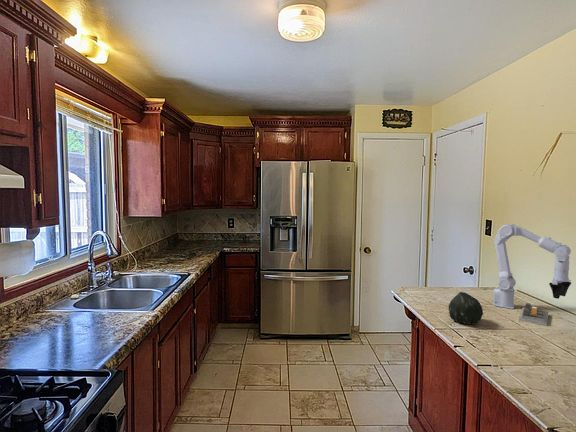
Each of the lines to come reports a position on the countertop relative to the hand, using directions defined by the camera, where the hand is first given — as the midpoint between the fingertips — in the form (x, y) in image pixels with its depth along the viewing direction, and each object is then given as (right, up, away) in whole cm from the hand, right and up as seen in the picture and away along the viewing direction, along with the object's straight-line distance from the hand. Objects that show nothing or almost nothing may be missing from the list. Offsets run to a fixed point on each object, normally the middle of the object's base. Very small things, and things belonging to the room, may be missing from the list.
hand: (559, 297), depth 183 cm
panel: (-13, -10, -1) cm, 17 cm away
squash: (-50, -10, -8) cm, 52 cm away
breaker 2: (-19, -8, -4) cm, 21 cm away
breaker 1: (-12, -8, +5) cm, 15 cm away
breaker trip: (-13, -8, -1) cm, 16 cm away
